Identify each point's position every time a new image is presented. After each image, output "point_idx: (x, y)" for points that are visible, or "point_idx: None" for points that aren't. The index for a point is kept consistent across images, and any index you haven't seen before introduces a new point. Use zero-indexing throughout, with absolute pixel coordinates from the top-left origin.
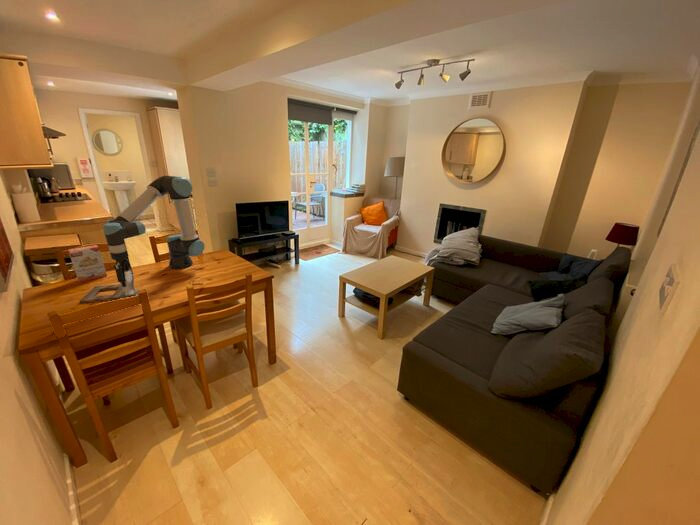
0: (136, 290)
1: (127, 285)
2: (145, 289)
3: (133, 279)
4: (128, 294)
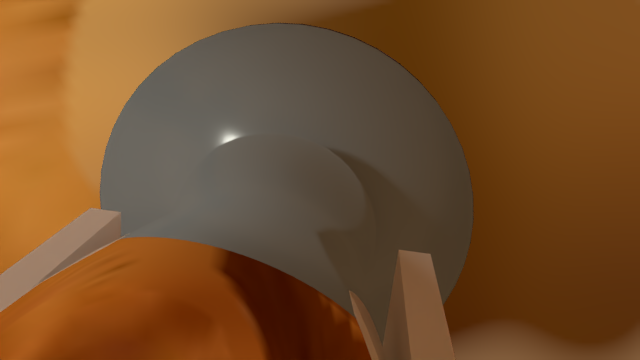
0: (110, 161)
1: (448, 342)
2: (69, 21)
3: (202, 244)
4: (372, 250)
